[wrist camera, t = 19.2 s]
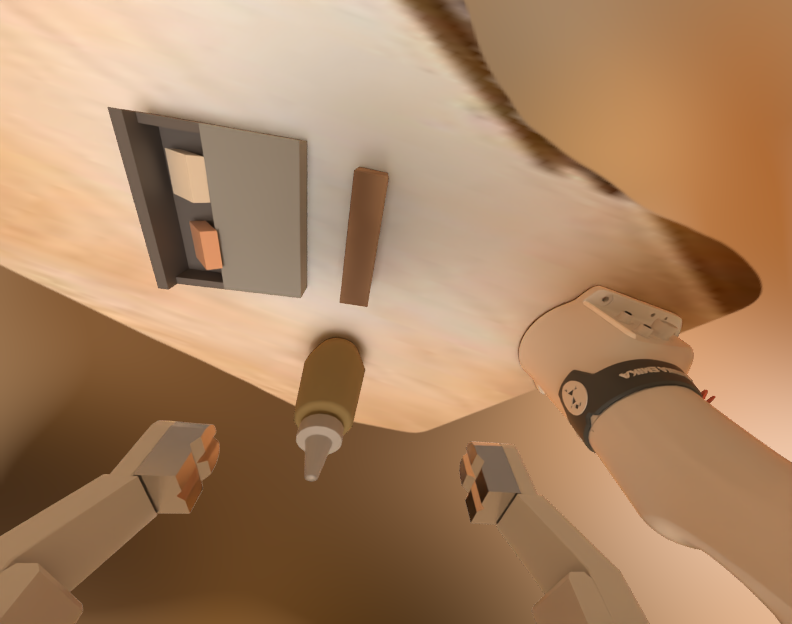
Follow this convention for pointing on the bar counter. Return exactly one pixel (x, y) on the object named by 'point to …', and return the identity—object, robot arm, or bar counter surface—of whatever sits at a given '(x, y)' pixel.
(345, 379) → the squeeze bottle
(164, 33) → the bar counter surface
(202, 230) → the tile terracotta
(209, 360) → the bar counter surface
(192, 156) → the tile cream
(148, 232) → the grey tray with lip
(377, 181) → the long wooden plank
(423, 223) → the bar counter surface
